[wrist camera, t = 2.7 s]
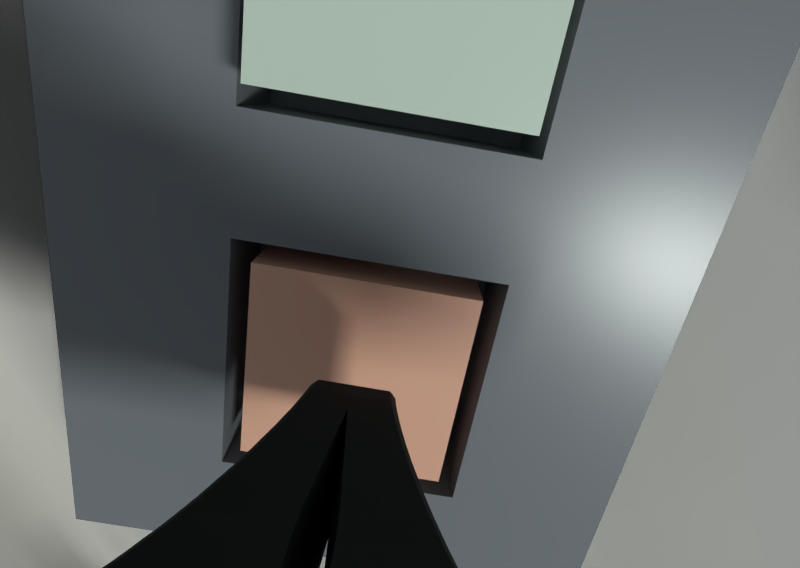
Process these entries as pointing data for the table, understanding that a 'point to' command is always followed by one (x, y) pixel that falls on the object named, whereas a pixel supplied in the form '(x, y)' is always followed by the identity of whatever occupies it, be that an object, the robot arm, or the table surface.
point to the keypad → (389, 243)
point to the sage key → (412, 55)
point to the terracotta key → (358, 341)
